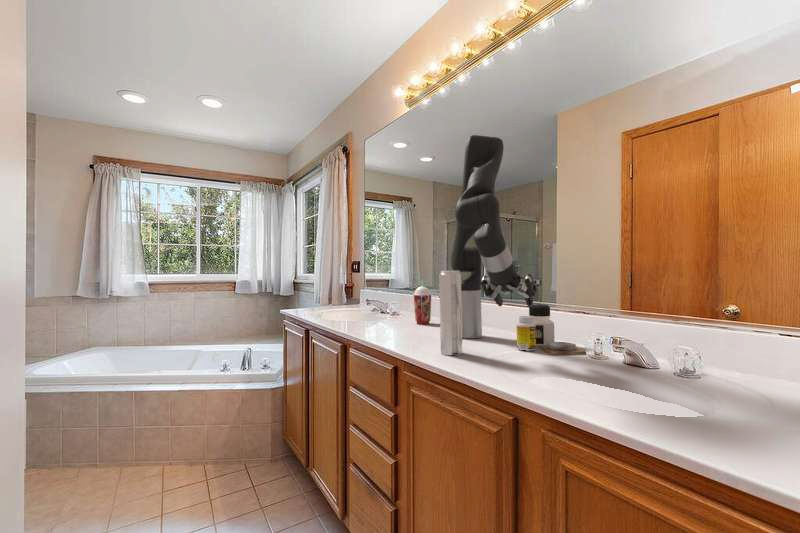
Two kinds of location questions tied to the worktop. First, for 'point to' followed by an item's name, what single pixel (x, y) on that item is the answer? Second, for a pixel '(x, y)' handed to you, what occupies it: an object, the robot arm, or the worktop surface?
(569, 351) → the hub
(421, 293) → the smoothie
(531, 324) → the supplement bottle
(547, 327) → the container
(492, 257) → the robot arm
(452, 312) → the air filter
